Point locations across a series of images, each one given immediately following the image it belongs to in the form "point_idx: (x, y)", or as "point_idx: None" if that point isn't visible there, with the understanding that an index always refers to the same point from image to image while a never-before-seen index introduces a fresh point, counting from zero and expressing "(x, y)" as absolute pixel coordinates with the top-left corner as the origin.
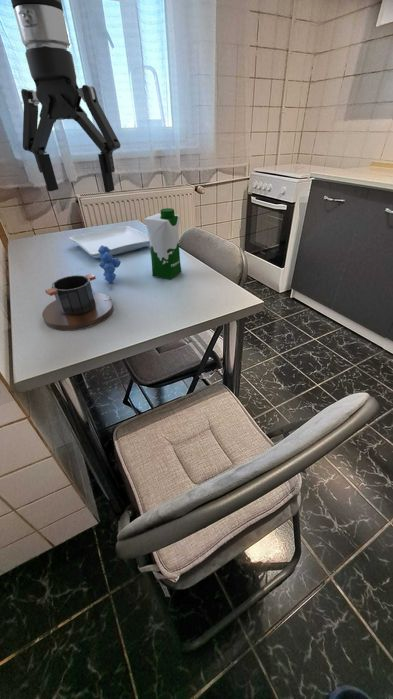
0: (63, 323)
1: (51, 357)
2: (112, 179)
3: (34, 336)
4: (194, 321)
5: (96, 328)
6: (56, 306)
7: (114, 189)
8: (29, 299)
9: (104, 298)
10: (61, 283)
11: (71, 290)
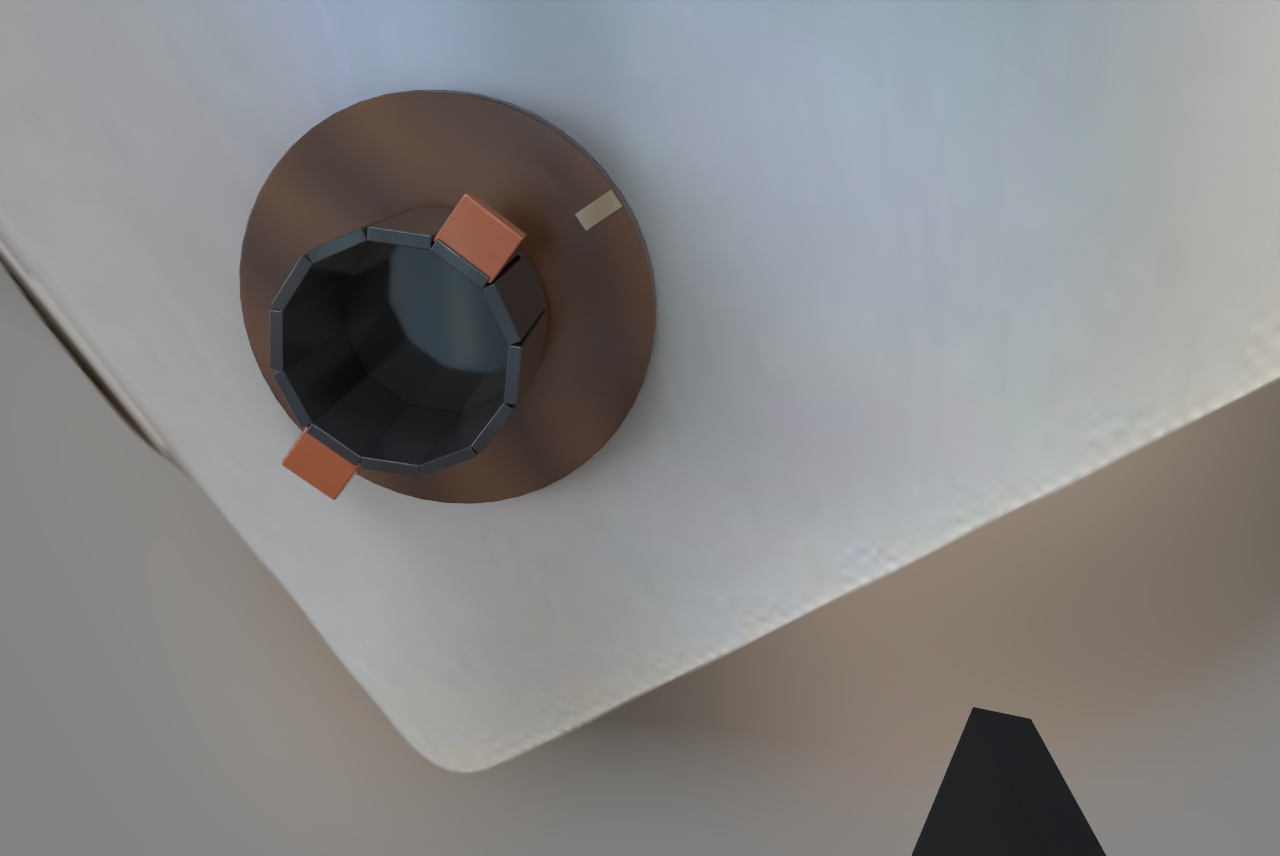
0: (445, 488)
1: (499, 674)
2: (1093, 851)
3: (335, 535)
4: (1152, 414)
5: (615, 474)
6: None
7: (1034, 727)
8: (30, 132)
9: (571, 195)
10: (301, 299)
11: (451, 465)
